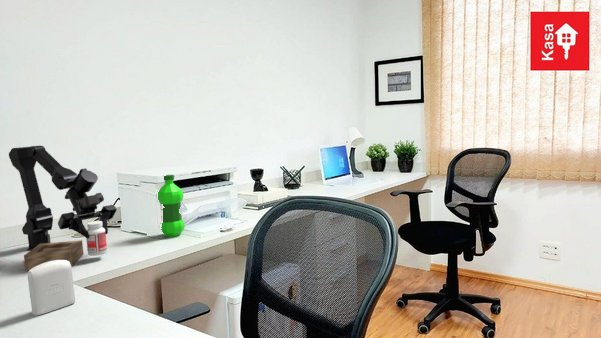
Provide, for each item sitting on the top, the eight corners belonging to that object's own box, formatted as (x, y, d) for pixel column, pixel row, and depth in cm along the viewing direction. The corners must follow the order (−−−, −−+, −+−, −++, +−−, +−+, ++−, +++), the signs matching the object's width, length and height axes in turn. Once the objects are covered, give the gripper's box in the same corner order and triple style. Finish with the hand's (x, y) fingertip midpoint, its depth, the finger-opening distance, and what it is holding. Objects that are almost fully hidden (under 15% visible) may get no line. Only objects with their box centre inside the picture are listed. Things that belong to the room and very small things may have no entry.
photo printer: (35, 317, 110) (30, 269, 108) (29, 313, 113) (23, 266, 111) (78, 303, 118) (73, 258, 116) (71, 299, 120) (66, 255, 119)
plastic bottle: (184, 237, 180) (180, 176, 177) (157, 239, 178) (153, 177, 175) (187, 231, 190) (183, 173, 187) (161, 233, 188) (157, 174, 185)
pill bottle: (106, 249, 159) (104, 219, 158) (107, 254, 154) (105, 223, 152) (87, 252, 156) (84, 221, 155) (87, 257, 151) (85, 225, 150)
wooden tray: (25, 270, 145) (23, 255, 145) (41, 257, 159) (40, 243, 159) (71, 266, 148) (70, 251, 147) (83, 254, 162) (82, 240, 161)
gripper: (58, 190, 147) (76, 227, 142) (112, 182, 162) (130, 216, 156) (50, 210, 153) (67, 247, 148) (103, 201, 168) (120, 234, 162)
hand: (97, 235), depth 153 cm, fingers closed on pill bottle, 6 cm apart
